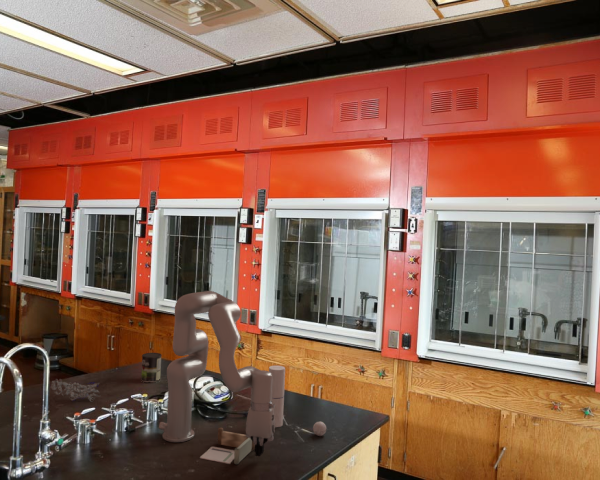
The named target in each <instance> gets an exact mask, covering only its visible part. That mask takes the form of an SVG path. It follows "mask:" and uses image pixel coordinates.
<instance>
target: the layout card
mask: <svg viewBox="0 0 600 480" xmlns="http://www.w3.org/2000/svg"><path fill="white" fill-rule="evenodd" d="M234 453H235V449H228V448H223V447H217V446H210V447H209V449H208V450H206V451H205V452H204V453H203V454H202V455H200V457H199V459H201V460H208V461H210V462H211V461H213V462H218V463H221V464H227V465H231V463H233V462H234Z"/></svg>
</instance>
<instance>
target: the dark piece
mask: <svg viewBox="0 0 600 480" xmlns="http://www.w3.org/2000/svg"><path fill="white" fill-rule="evenodd" d="M99 384H100V383H99V382H97V383H96V382H95V381H93V382H90V384H87V385H86V384H84V385H83V384H79V382H77V383H76V381H75V382H73V383H69V382H66V381H63V380H62V379H61V378H59V380H58V378H55V380H52V381H51V386H50V389H52V391H53V393H54V394H55V395H59V396H60V394H61V396H63V397H64V395H66V396H68V395H70V397H71V398H70V400H71V401H74V402H75V401H76V399H81V400H84V399H85V398H87V399H88V400H89V402H92V401H91V400H93V401H94V400H95V399H96V398H98V397H100V395H98V394H96V393H99V389H96V387H97V388H99ZM62 385H63V386H64V390H63V389H62V388H63V386H62ZM57 390H58V391H59V392H58V391H57ZM76 392H77V393H76ZM92 392H93V393H92ZM89 393H90V394H89ZM92 398H93V399H92Z"/></svg>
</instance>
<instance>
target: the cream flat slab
mask: <svg viewBox="0 0 600 480" xmlns="http://www.w3.org/2000/svg"><path fill="white" fill-rule="evenodd" d="M234 451H235V453H234V460H233V464H234V465H239V464H240V462H241V461H243V459H244V458H245V457H247V455H248V454H250V453H251V452H253V451H252V440H251V439H250V438H248V439H247V440H245V441H244V442H243V443H242V444H241V445H240V446H239V447H238V448H237V447H235V448H234Z"/></svg>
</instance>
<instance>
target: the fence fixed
mask: <svg viewBox="0 0 600 480" xmlns="http://www.w3.org/2000/svg"><path fill="white" fill-rule="evenodd" d="M247 439H248V437H246V434H243V433H239V432H231V431H226V430H224V428H223V427H218V429H217V442H216V443H217V445H218V446H220V445H222V446H226V447H233V448H238V447H239V446H240V445H241V444H242V443H243V442H244V441H245V440H247ZM253 451H255V445H254V442H253V441H252V451H251V452H253Z"/></svg>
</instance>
